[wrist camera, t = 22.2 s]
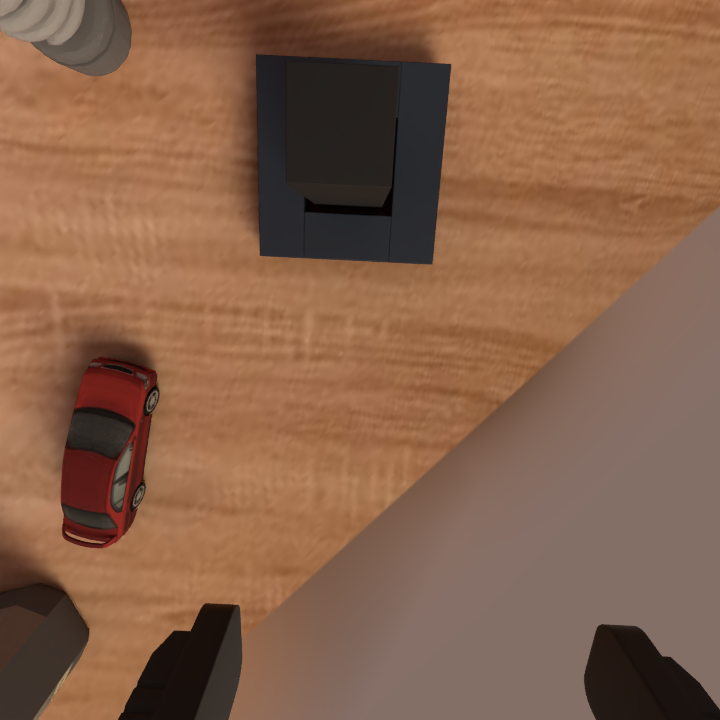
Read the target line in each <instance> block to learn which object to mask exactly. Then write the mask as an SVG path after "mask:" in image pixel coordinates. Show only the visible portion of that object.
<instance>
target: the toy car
mask: <svg viewBox="0 0 720 720" xmlns="http://www.w3.org/2000/svg"><path fill="white" fill-rule="evenodd" d="M156 381H157V373H156V371H154V370H151V369H148V368H146V367H143V366H140V365H137V364H134V363H131V362H127V361H122V360H117V359H111V358H103V357H99V358H98V359H93V360H92V362H91V363H90V365H89V367H88V369H87V370H86V371H85V373H84V375H83V378H82V381H81V384H80V388H79V393H78V397H77V401H76V405H75V408H74V412H73V416H72V421H71V425H70V429H69V433H68V437H67V442H66V446H65V451H64V457H63V465H62V482H61V506H62V510H63V513H64V519H63V526H62V535H63V538H64V539H65V540H67V541H69V542H72V543H74V544H76V545H80V546H84V547H89V548H105V547H108V546H110V545H111V544H113V543H116V542H117V541H118V540H119V539H120V538H121V537H122V536H123V535H124V534H125V533H126V532H127V531H128V529H129V528H130V526H131V525H132V523H133V521H134V518H135V515H136V512H137V509H136V510H134V509H135V508H136V507H137V506H138V505H139V504H140V502H141V500H142V498H143V496H144V493H145V488H146V486H145V484H143V483H142V480H143V473H144V466H145V459H146V452H147V445H148V438H149V431H150V424H151V417H152V414H151V415H149V414H150V413H151V412H152V411H153V410H154V409H155V407H156V405H157V402H158V399H159V389H158V388H155V387H154V386H155V385H156ZM133 510H134V511H133ZM65 531H66V532H69V533H71V534H74V535H76V536H80V537H83V538H87V539H90V540H96V541H102V542H106V543H102V544H99V543H89V542H84V541H80V540H77V539H75V538H72V537H70V536H68V535H67V534H66V533H65Z"/></svg>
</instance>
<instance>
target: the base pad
mask: <svg viewBox="0 0 720 720" xmlns="http://www.w3.org/2000/svg"><path fill="white" fill-rule="evenodd" d="M286 61H307V62H327V63H347V64H367V65H387V66H399V80H398V95H397V111H396V127H395V142H394V158H393V173H392V187H391V202H390V216H382V215H362V214H342V213H322V212H309V199H307V198H306V197H305V196H303V195H302V194H301V193H299V192H298V191H297V190H295V189H294V188H293V187H291V186H290V185H289V184H287V183H286ZM450 72H451V64H439V63H419V62H399V61H379V60H359V59H339V58H319V57H306V58H305V57H298V56H278V55H258V54H257V55H256V82H257V132H258V182H259V233H260V256H272V257H292V258H312V259H332V260H352V261H372V262H392V263H412V264H432V262H433V251H434V241H435V230H436V220H437V209H438V199H439V188H440V178H441V167H442V157H443V146H444V136H445V125H446V115H447V104H448V94H449V83H450Z"/></svg>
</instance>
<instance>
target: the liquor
mask: <svg viewBox="0 0 720 720" xmlns="http://www.w3.org/2000/svg"><path fill="white" fill-rule="evenodd" d="M88 637H89V629H88V628H87V626H86V624H85V623H84V621H83V620H82V618H81V616H80V615H79V613H78V611H77V610H76V608H75V607H74V605H73V603H72V602H71V600H70V599H69V597H68V595H67V594H66V593H64V592H61V591H59V590H56V589H54V588H51V587H49V586H46V585H44V584H37V585H33V586H29V587H25V588H21V589H17V590H14V591H10V592H6V593H2V594H0V720H38V719H39V717H40V716H41V715H42V713H43V712H44V710H45V709H46V707H47V706H48V704H49V703H50V701H51V700H52V699H53V697H54V696H55V694H56V693H57V691H58V690H59V688H60V687H61V685H62V684H63V682H64V681H65V680H66V678H67V677H68V675H69V674H70V672H71V671H72V669H73V668H74V666H75V665H76V664H77V662H78V661H79V659H80V657H81V655H82V653H83V651H84V648H85V646H86V644H87V642H88Z"/></svg>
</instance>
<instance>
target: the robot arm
mask: <svg viewBox="0 0 720 720" xmlns="http://www.w3.org/2000/svg"><path fill="white" fill-rule="evenodd" d="M241 664H242V640H241V618H240V607H239V605H231V604H210V603H205V604H204V605H203V606H202V608H201V610H200V612H199V614H198V616H197V618H196V620H195V623H194V625H193V627H192V629H191V631H173V632H172V634H171V635H170V636H169V637H168V638H167V639H166V640H165V641H164V642H163V643H162V644H161V645H160V646H159V647H158V648H157V649H156V650H155V651H154V652H153V653H152V655H151V657H150V659H149V661H148V663H147V665H146V667H145V669H144V671H143V673H142V675H141V676H140V678H139V680H138V684H137V687H136V688H134V690H133V692H132V694H131V696H130V698H129V700H128V701H127V703H126V705H125V709H124V712H123V713H121V715H120V717H119V719H118V720H228V719H229V715H230V712H231V708H232V705H233V702H234V698H235V694H236V691H237V687H238V683H239V678H240V672H241ZM584 684H585V691H586V696H587V699H588V702H589V705H590V708H591V710H592V712H593V714H594V716H595V718H596V720H720V710H719V708H718V707H717V706H716V704H715V703H714V702H713V700H712V699H711V698H710V696H709V695H708V694H707V692H706V691H705V690H704V688H703V687H702V686H701V684H700V683H699V682H698V681H697V680H696V679H695V678H693V677H692V676H691V675H690V674H689V673H688V672H687V671H686V670H684V669H683V668H682V667H681V666H680V665H679V664H678V663H676V662H675V661H674V660H673V659H672V658H671V657H663V656H661V654H660V653H659V652H658V650H657V649H656V647H655V646H654V645H653V643H652V642H651V640H650V639H649V638H648V636H647V635H646V634H645V632H643V630H641V629H640V628H638V627H637V626H624V625H604V624H602V625H599V626H598V627H597V630H596V633H595V636H594V640H593V644H592V648H591V652H590V655H589V659H588V663H587V666H586V670H585V675H584Z"/></svg>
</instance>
